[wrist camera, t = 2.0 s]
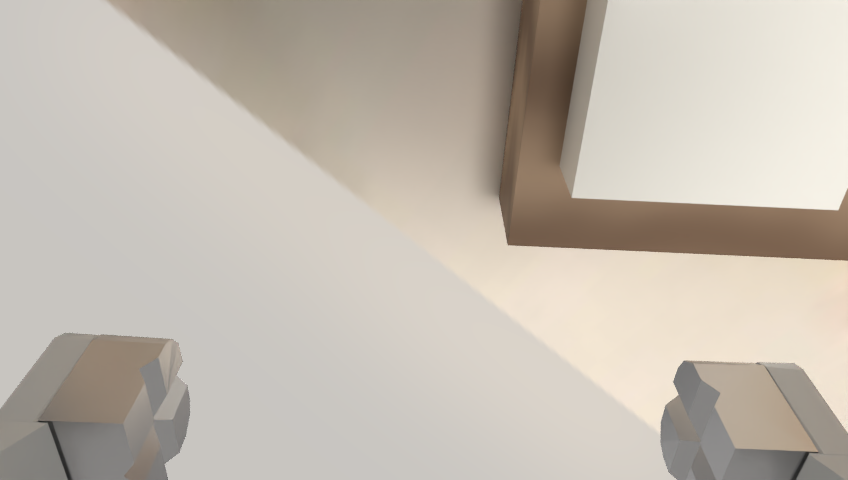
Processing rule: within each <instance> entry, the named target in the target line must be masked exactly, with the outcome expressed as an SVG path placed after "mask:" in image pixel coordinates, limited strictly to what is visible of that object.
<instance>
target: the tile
mask: <svg viewBox="0 0 848 480" xmlns="http://www.w3.org/2000/svg"><path fill="white" fill-rule="evenodd" d="M559 166H560V169H561V171H562V174H563V177H564V179H565V182H566V184H567V187H568V190H569V192H570V195H571V198H584V199H605V200H627V201H648V202H670V203H691V204H713V205H734V206H756V207H777V208H799V209H820V210H839V207H840V205H841V203H842V200H843V198H844V196H845V193H846V191H847V189H848V0H587V5H586V11H585V17H584V23H583V29H582V35H581V41H580V47H579V53H578V59H577V65H576V71H575V76H574V82H573V88H572V94H571V100H570V106H569V112H568V118H567V124H566V130H565V136H564V142H563V148H562V154H561V160H560V165H559Z"/></svg>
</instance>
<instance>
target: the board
mask: <svg viewBox="0 0 848 480" xmlns="http://www.w3.org/2000/svg"><path fill="white" fill-rule="evenodd" d="M586 5H587V0H523V2H522V10H521V19H520V27H519V35H518V44H517V52H516V60H515V69H514V77H513V85H512V94H511V102H510V111H509V119H508V127H507V136H506V144H505V152H504V161H503V169H502V177H501V186H500V194H499V200H500V205H501V211H502V216H503V221H504V227H505V232H506V238H507V243H508V245H517V246H539V247H561V248H583V249H605V250H627V251H649V252H671V253H693V254H715V255H737V256H759V257H781V258H803V259H825V260H847V261H848V189H847V191H846V193H845V196H844V198H843V200H842V203H841V205H840V207H839V210H820V209H799V208H777V207H756V206H734V205H713V204H691V203H670V202H648V201H627V200H605V199H584V198H571V195H570V192H569V190H568V187H567V184H566V182H565V179H564V177H563V174H562V171H561V169H560V166H559V165H560V160H561V154H562V148H563V142H564V136H565V130H566V124H567V118H568V112H569V106H570V100H571V94H572V88H573V82H574V76H575V71H576V65H577V59H578V53H579V47H580V41H581V35H582V29H583V23H584V17H585V11H586Z"/></svg>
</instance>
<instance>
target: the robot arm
mask: <svg viewBox="0 0 848 480" xmlns="http://www.w3.org/2000/svg"><path fill="white" fill-rule="evenodd" d="M182 362H183V361H182V356H181V352H180V348H179V344H178V343H177V342H176V341H174V340H173V339H163V338H147V337H132V336H116V335H90V334H74V333H64V334H62V335H60V336H58V337H55V338H54V339H53V340H52V342H51V343H50V344H49V346H48V347H47V348H46V350H45V351H44V352H43V354H42V355H41V356H40V358H39V359H38V360H37V361H36V363H35V364H34V365H33V367H32V368H31V370H30V371H29V372H28V373H27V375H26V376H25V377H24V379H23V380H22V381H21V382H20V384H19V385H18V386H17V388H16V389H15V390H14V392H13V393H12V395H11V396H10V397H9V398H8V400H7V401H6V402H5V403H4V405H3V406H2V407H1V409H0V480H168V477H167V473H166V469H165V463H166V462H168V461H169V460H170V459H172V458H173V457H174V456H176V455H177V454H178V453H179V452H180V449H181V447H182V444H183V442H184V439H185V437H186V432H187V427H188V421H189V416H190V398H189V392H188V387H187V385H186V384H185V383H184V382H183V381H182V380H181V379H180V378H179V377H178V376H177V373H178V370H179V368H180V366H181V364H182ZM673 382H674V385H675V387H676V389H677V392H678V394H679V395H678V396H677V397H676V398H674V399H673V400H672V401H670V402H669V403H668V404H667V405H666V406H665V410H664V413H663V417H662V420H661V447H662V452H663V457H664V460H665V462H666V466H667V469H668V472H669V473H670V474H671V475H673V476H674V477H675V478H676V479H677V480H848V433H847V432H846V430H845V429H844V427H843V426H842V424H841V423H840V422H839V420H838V419H837V417H836V416H835V414H834V413H833V412H832V410H831V409H830V407H829V406H828V404H827V403H826V402H825V400H824V399H823V397H822V396H821V394H820V393H819V392H818V390H817V389H816V387H815V386H814V384H813V383H812V382H811V380H810V379H809V377H808V376H807V374H806V373H805V372H804V370H803V369H802V368H800V367H799V366H797V365H796V364H794V363H760V362H757V363H739V362H710V361H683V363H682V364H681V365H680V366H679V368H678V370H677V372H676V375H675V378H674V381H673Z"/></svg>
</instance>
